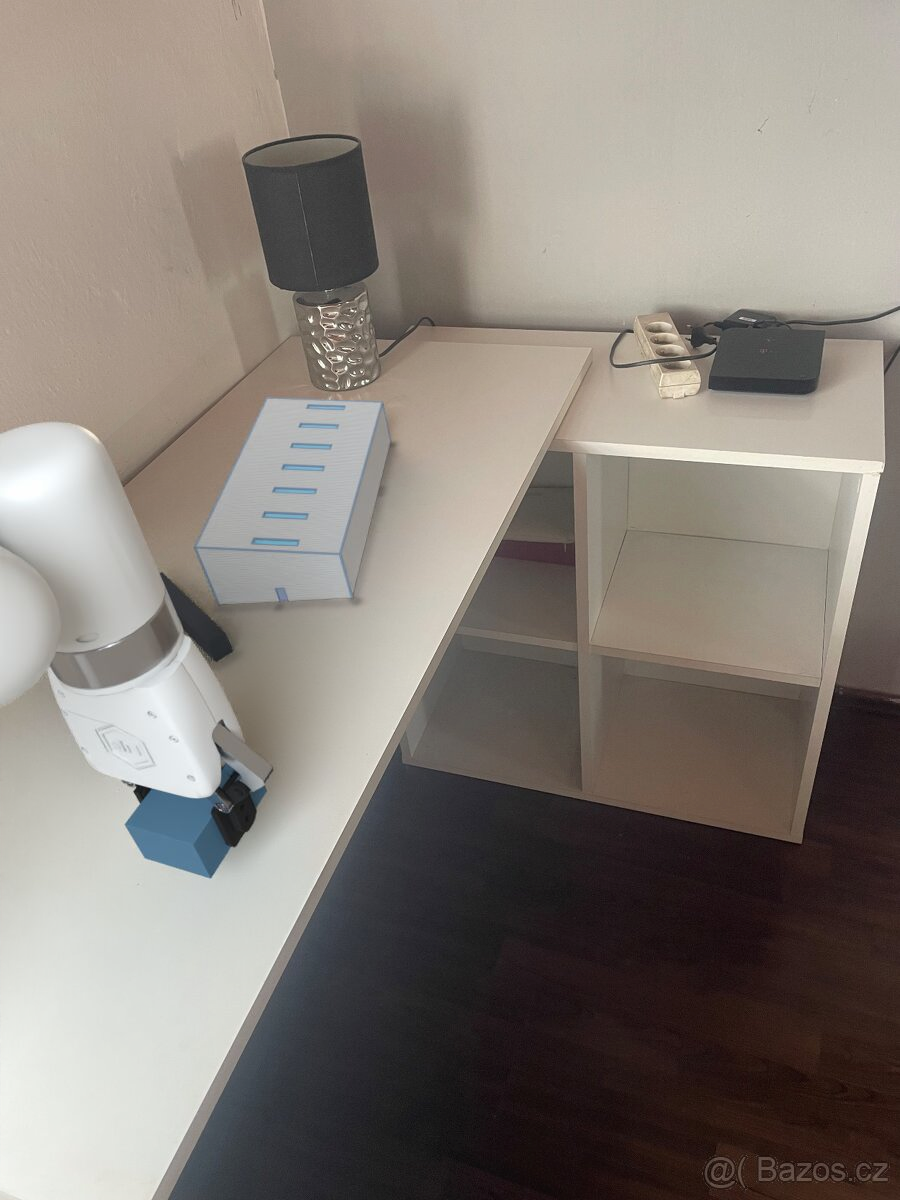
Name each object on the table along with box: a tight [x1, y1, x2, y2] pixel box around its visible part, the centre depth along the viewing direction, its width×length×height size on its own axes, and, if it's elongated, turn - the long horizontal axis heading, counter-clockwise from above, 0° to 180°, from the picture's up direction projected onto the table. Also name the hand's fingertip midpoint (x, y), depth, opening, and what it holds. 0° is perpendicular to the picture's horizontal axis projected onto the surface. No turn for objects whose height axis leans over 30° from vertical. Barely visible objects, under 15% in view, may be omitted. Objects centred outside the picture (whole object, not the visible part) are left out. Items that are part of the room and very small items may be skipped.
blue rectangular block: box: [124, 769, 268, 879], centre depth 61 cm, size 6×8×4 cm
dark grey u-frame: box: [159, 571, 234, 662], centre depth 85 cm, size 12×14×2 cm
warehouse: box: [193, 396, 392, 606], centre depth 97 cm, size 30×14×8 cm, turn 175°
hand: (204, 817), depth 62 cm, fingers closed on blue rectangular block, 5 cm apart
